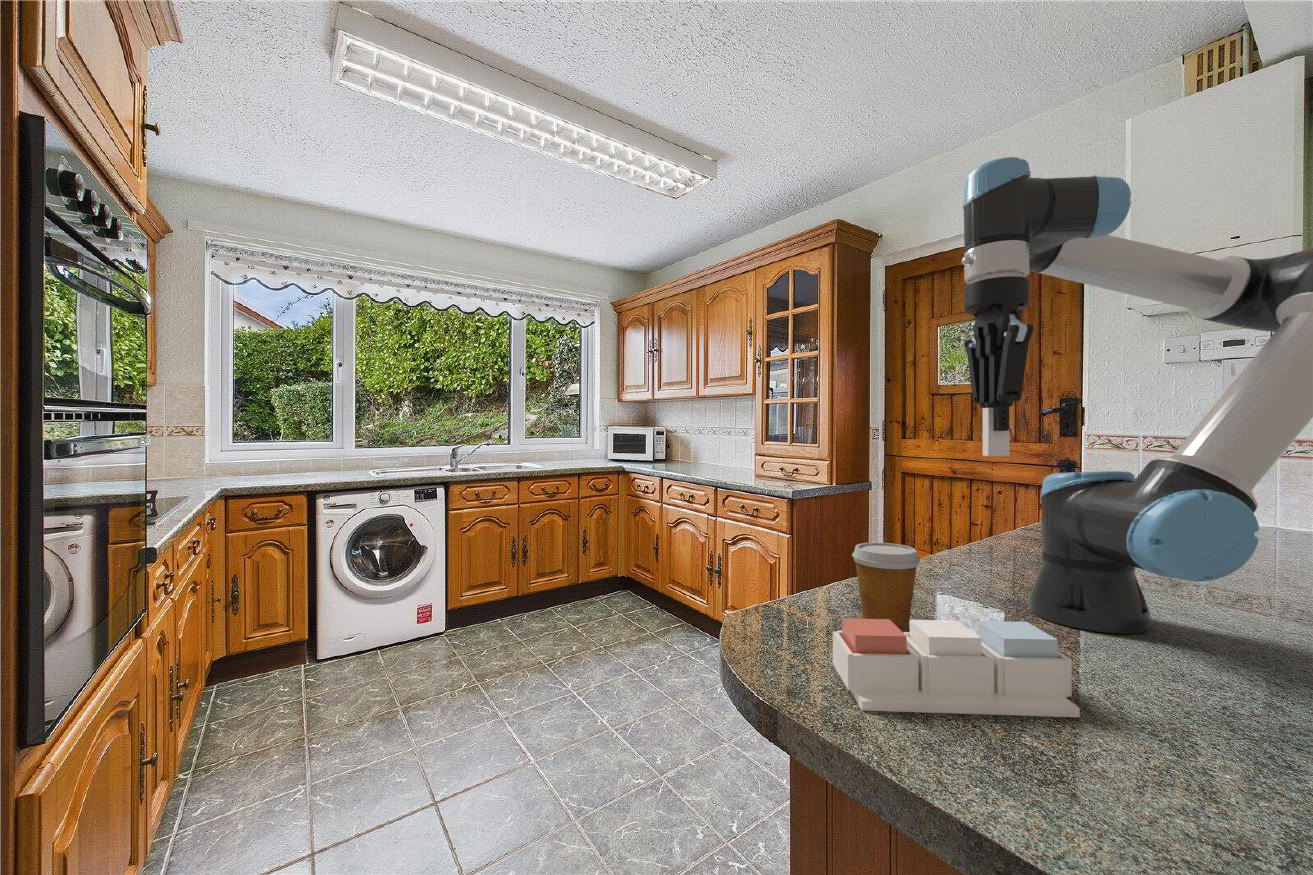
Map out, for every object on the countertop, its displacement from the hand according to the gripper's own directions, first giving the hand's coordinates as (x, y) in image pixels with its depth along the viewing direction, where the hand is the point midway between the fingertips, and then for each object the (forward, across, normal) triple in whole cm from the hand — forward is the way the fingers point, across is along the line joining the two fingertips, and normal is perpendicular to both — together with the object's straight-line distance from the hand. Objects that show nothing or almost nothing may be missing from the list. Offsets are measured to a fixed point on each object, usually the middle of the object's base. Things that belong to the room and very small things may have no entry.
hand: (995, 455), depth 74 cm
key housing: (+26, +12, -12) cm, 31 cm away
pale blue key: (+24, +12, -4) cm, 27 cm away
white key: (+24, +12, -12) cm, 29 cm away
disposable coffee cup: (+27, -8, -12) cm, 30 cm away
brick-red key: (+24, +12, -20) cm, 33 cm away
